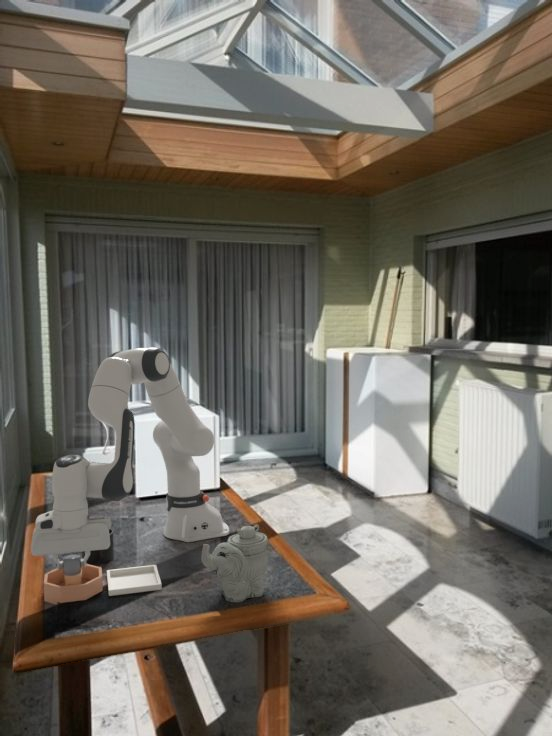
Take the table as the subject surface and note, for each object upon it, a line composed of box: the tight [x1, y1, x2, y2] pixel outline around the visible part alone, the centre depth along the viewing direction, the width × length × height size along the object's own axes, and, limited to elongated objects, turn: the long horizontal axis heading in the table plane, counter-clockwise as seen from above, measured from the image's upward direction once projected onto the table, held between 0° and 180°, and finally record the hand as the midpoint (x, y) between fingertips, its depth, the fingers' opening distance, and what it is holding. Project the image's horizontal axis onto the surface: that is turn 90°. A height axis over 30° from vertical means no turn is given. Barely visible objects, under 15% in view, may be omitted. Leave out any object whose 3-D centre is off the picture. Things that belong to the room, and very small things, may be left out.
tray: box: [106, 564, 163, 597], centre depth 182 cm, size 14×14×2 cm
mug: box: [81, 528, 115, 565], centre depth 198 cm, size 9×12×9 cm
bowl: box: [43, 563, 104, 606], centre depth 177 cm, size 15×15×5 cm
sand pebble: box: [64, 569, 82, 586], centre depth 180 cm, size 5×5×4 cm
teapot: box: [200, 524, 269, 603], centre depth 175 cm, size 16×15×19 cm
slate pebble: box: [62, 554, 82, 576], centre depth 173 cm, size 5×5×4 cm
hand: (71, 567), depth 174 cm, fingers closed on slate pebble, 5 cm apart
